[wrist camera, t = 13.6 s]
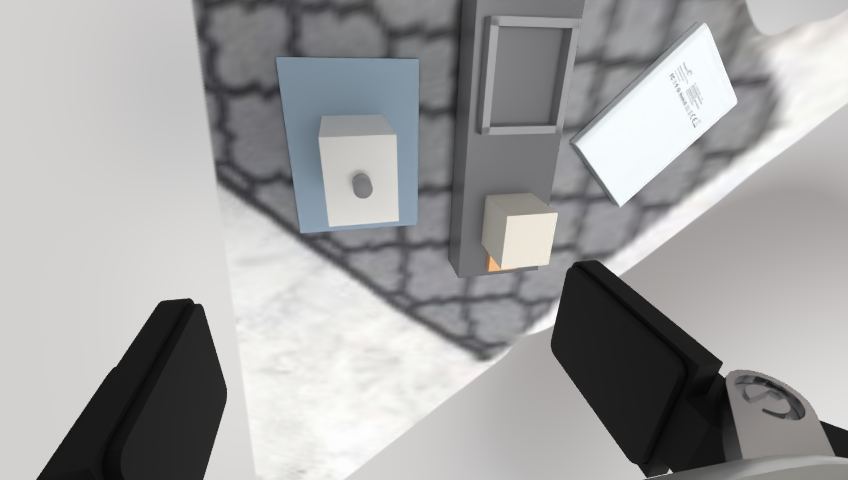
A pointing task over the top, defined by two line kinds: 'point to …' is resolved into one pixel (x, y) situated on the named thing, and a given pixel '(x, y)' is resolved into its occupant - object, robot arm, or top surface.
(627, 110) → the external hard drive
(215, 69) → the top surface
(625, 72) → the top surface
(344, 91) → the mat
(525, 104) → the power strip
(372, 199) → the block
